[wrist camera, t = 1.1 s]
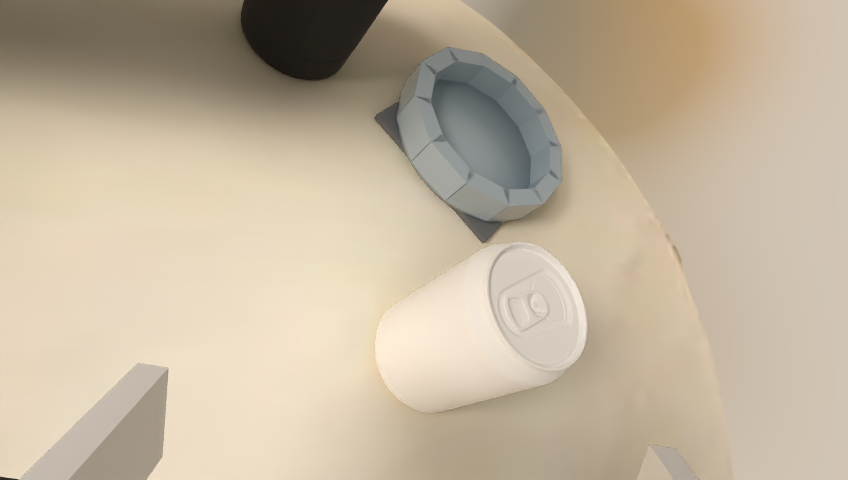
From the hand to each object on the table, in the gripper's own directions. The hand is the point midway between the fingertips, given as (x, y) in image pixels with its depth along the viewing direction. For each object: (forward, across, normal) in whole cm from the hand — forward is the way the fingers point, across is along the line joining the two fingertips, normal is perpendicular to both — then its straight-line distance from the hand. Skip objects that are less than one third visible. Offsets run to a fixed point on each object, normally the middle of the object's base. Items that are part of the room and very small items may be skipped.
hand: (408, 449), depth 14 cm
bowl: (+36, +5, +6) cm, 37 cm away
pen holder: (+33, -12, +11) cm, 37 cm away
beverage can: (+21, +2, -8) cm, 23 cm away
